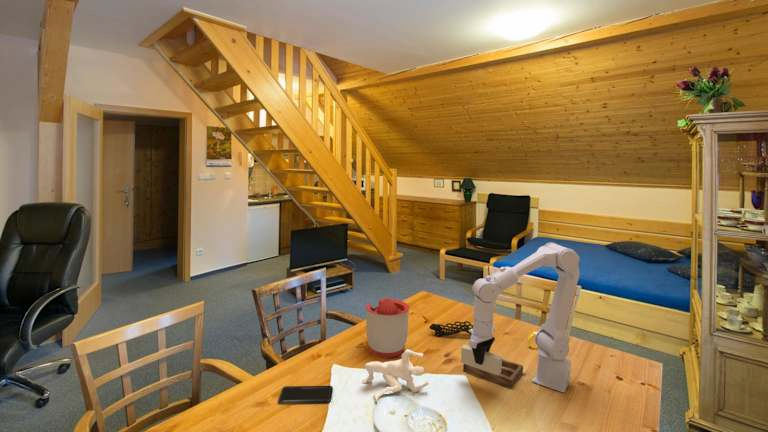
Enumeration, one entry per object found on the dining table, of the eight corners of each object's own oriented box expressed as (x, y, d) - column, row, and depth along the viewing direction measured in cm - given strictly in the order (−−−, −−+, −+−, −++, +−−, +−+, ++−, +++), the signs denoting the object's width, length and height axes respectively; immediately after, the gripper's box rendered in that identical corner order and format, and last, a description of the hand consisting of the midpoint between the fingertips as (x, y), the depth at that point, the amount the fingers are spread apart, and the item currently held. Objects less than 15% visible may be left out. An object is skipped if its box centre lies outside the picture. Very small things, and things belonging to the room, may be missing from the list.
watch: (542, 347, 149) (544, 332, 148) (544, 350, 146) (547, 335, 145) (526, 345, 149) (528, 330, 148) (528, 348, 146) (530, 333, 146)
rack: (522, 373, 130) (523, 365, 129) (511, 388, 121) (511, 380, 120) (477, 358, 139) (477, 350, 139) (463, 371, 130) (463, 363, 130)
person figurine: (366, 367, 111) (422, 347, 117) (354, 356, 123) (406, 338, 129) (376, 412, 111) (432, 390, 117) (364, 396, 123) (415, 376, 129)
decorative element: (485, 335, 158) (486, 321, 157) (487, 340, 153) (488, 326, 152) (429, 332, 160) (429, 318, 159) (429, 338, 155) (430, 323, 154)
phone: (331, 401, 112) (277, 401, 111) (331, 404, 112) (277, 405, 111) (333, 385, 120) (283, 385, 119) (333, 388, 120) (283, 389, 119)
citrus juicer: (383, 335, 156) (384, 286, 153) (417, 351, 143) (418, 298, 141) (353, 348, 145) (353, 296, 142) (386, 366, 132) (387, 309, 130)
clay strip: (501, 372, 118) (502, 356, 117) (498, 375, 116) (499, 359, 115) (464, 359, 125) (465, 344, 124) (460, 362, 123) (461, 347, 122)
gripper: (480, 308, 126) (478, 348, 128) (460, 323, 115) (458, 366, 117) (501, 314, 122) (499, 355, 124) (483, 329, 111) (480, 374, 113)
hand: (480, 361), depth 120 cm, fingers closed on clay strip, 2 cm apart
